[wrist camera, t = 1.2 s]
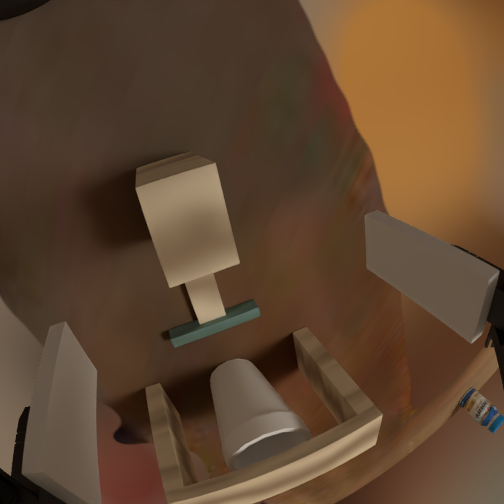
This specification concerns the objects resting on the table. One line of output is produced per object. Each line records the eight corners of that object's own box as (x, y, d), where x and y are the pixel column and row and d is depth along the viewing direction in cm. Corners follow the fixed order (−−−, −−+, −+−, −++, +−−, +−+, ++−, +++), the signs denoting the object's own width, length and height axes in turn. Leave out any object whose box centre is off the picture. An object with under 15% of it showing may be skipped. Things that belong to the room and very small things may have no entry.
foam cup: (187, 396, 38) (214, 477, 27) (214, 343, 36) (252, 428, 25) (249, 402, 42) (285, 472, 31) (278, 355, 40) (327, 425, 29)
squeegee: (110, 177, 25) (96, 202, 17) (215, 144, 28) (253, 152, 19) (172, 337, 34) (189, 403, 25) (254, 307, 36) (293, 362, 27)
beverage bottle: (458, 407, 88) (490, 437, 71) (457, 400, 84) (492, 432, 67) (472, 390, 88) (505, 419, 71) (473, 383, 84) (508, 414, 67)
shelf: (145, 387, 35) (167, 504, 21) (306, 326, 40) (382, 414, 26) (166, 417, 38) (193, 521, 24) (310, 361, 43) (375, 444, 29)
